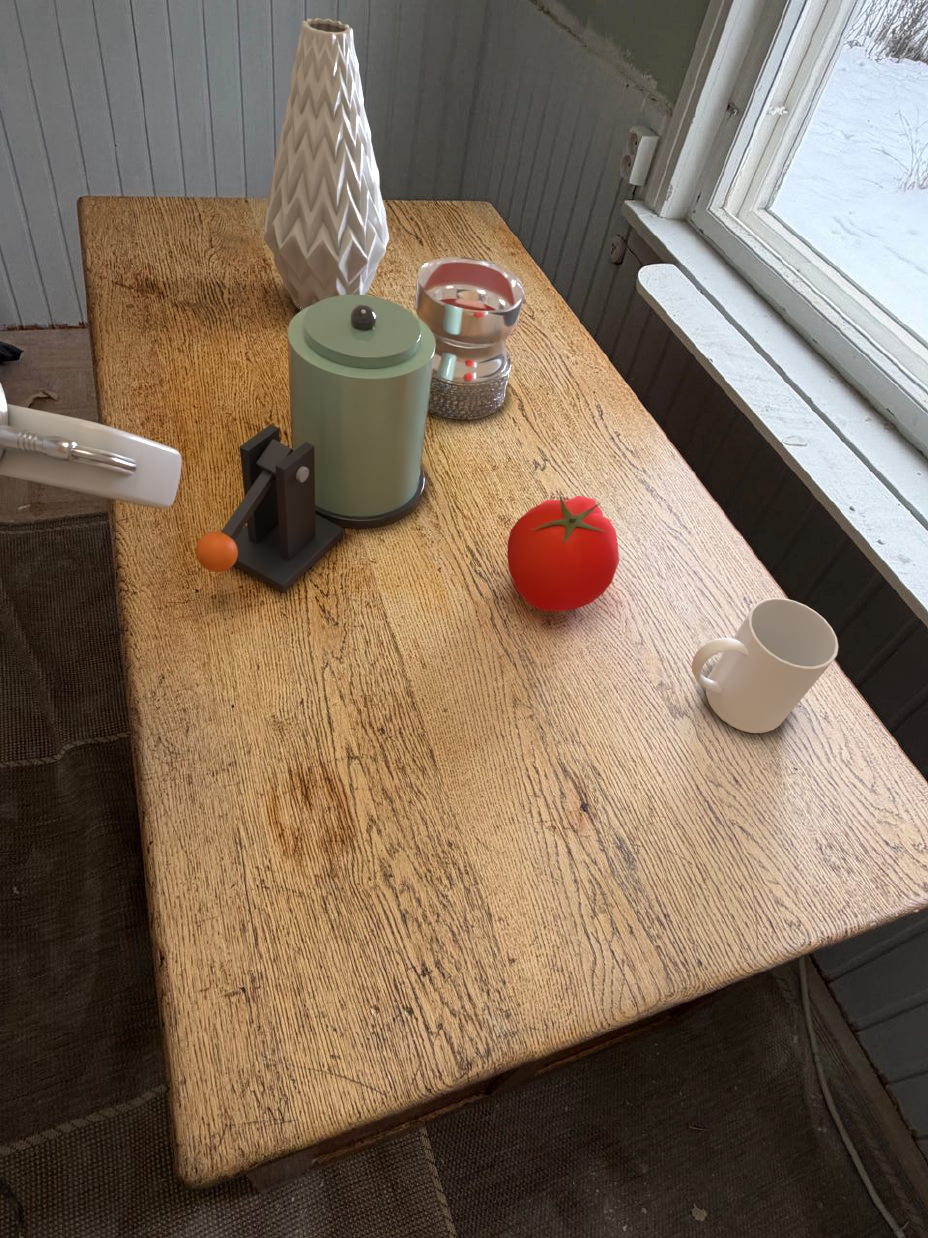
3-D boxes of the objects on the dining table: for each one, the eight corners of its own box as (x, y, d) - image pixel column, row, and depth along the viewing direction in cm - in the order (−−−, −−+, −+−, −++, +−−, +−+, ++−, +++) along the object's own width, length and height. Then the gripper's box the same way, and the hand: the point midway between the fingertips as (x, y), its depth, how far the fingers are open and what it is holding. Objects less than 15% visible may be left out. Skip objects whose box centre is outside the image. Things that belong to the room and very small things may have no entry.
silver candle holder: (416, 421, 96) (428, 311, 85) (391, 341, 107) (399, 234, 96) (515, 419, 100) (539, 312, 88) (481, 341, 110) (499, 238, 99)
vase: (358, 348, 105) (369, 61, 80) (245, 314, 107) (222, 22, 82) (402, 295, 116) (423, 27, 91) (299, 264, 117) (293, -7, 92)
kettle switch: (229, 584, 70) (212, 570, 67) (198, 566, 71) (180, 552, 68) (308, 466, 73) (296, 448, 69) (277, 450, 74) (263, 431, 70)
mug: (761, 663, 78) (810, 594, 70) (798, 729, 74) (855, 664, 66) (651, 674, 76) (690, 604, 68) (683, 745, 71) (728, 678, 63)
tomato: (619, 571, 84) (650, 500, 76) (579, 650, 76) (608, 579, 69) (526, 530, 86) (546, 457, 79) (478, 602, 78) (495, 529, 71)
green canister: (374, 549, 81) (386, 372, 65) (258, 488, 85) (243, 306, 69) (448, 475, 90) (474, 305, 75) (341, 423, 94) (344, 250, 78)
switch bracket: (283, 593, 76) (277, 493, 66) (218, 557, 78) (203, 454, 68) (343, 536, 82) (346, 437, 72) (282, 504, 84) (277, 403, 74)
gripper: (106, 389, 37) (237, 447, 50) (-254, 318, 40) (-38, 391, 53) (81, 520, 37) (217, 543, 51) (-274, 440, 40) (-55, 482, 54)
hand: (84, 465), depth 52 cm, fingers open, 8 cm apart
